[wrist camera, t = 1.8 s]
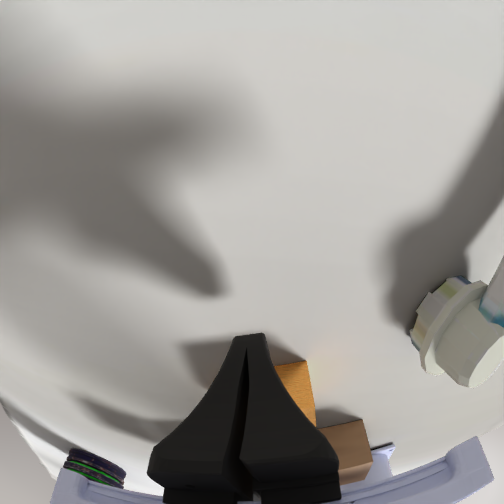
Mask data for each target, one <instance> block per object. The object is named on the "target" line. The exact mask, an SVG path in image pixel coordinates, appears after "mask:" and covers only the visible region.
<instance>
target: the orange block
mask: <svg viewBox="0 0 504 504" xmlns="http://www.w3.org/2000/svg"><path fill="white" fill-rule="evenodd" d="M274 368H275V370H276V372H277V374H278V376H279V378H280V379H281V381H282V383H283V385H284V386H285V388H286V390H287V391H288V393H289V394H290V396H291V397H292V399H293V400H294V401H295V403H296V404H297V406H298V407H299V408H300V409H301V411H302V412H303V413H304V414H305V416H306V417H307V418H308V419H309V420H310V421H311V422H312V423H313V425H314V426H315V427H316V416H315V405H314V399H313V393H312V388H311V382H310V377H309V371H308V366H307V361H302V362H296V363H290V364H284V365H277V366H274Z"/></svg>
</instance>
